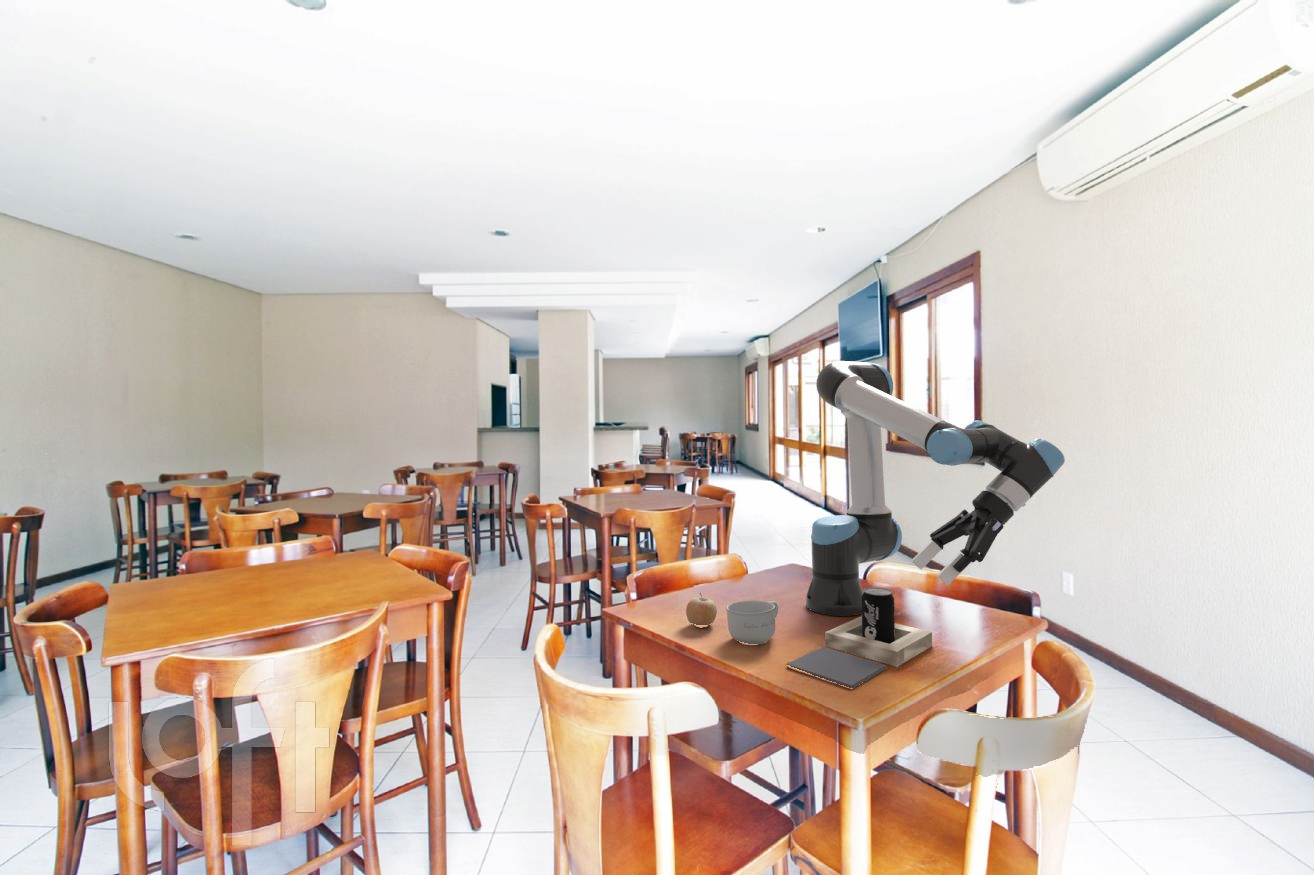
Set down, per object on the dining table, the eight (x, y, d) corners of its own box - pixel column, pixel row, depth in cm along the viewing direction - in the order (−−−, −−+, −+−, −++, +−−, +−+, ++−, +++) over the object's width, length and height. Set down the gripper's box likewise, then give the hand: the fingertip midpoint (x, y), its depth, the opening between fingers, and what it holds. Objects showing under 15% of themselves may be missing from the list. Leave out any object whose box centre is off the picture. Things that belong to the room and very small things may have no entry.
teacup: (745, 653, 126) (745, 615, 126) (717, 637, 136) (716, 602, 135) (797, 641, 132) (796, 605, 132) (766, 627, 142) (766, 593, 142)
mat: (786, 667, 118) (786, 663, 118) (822, 650, 127) (822, 646, 127) (851, 689, 108) (851, 685, 108) (886, 669, 116) (886, 664, 116)
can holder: (825, 646, 129) (824, 632, 129) (862, 628, 140) (862, 615, 140) (897, 666, 117) (897, 651, 117) (932, 645, 128) (932, 631, 128)
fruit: (681, 623, 146) (680, 590, 146) (708, 619, 149) (707, 587, 148) (694, 633, 139) (694, 599, 139) (722, 628, 141) (722, 595, 141)
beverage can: (897, 652, 125) (896, 595, 125) (864, 650, 126) (863, 594, 126) (891, 641, 131) (891, 586, 131) (860, 639, 132) (859, 585, 132)
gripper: (1048, 522, 114) (969, 601, 115) (983, 506, 139) (918, 570, 140) (1019, 495, 115) (940, 574, 115) (959, 483, 140) (895, 548, 140)
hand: (928, 572), depth 128 cm, fingers open, 13 cm apart
